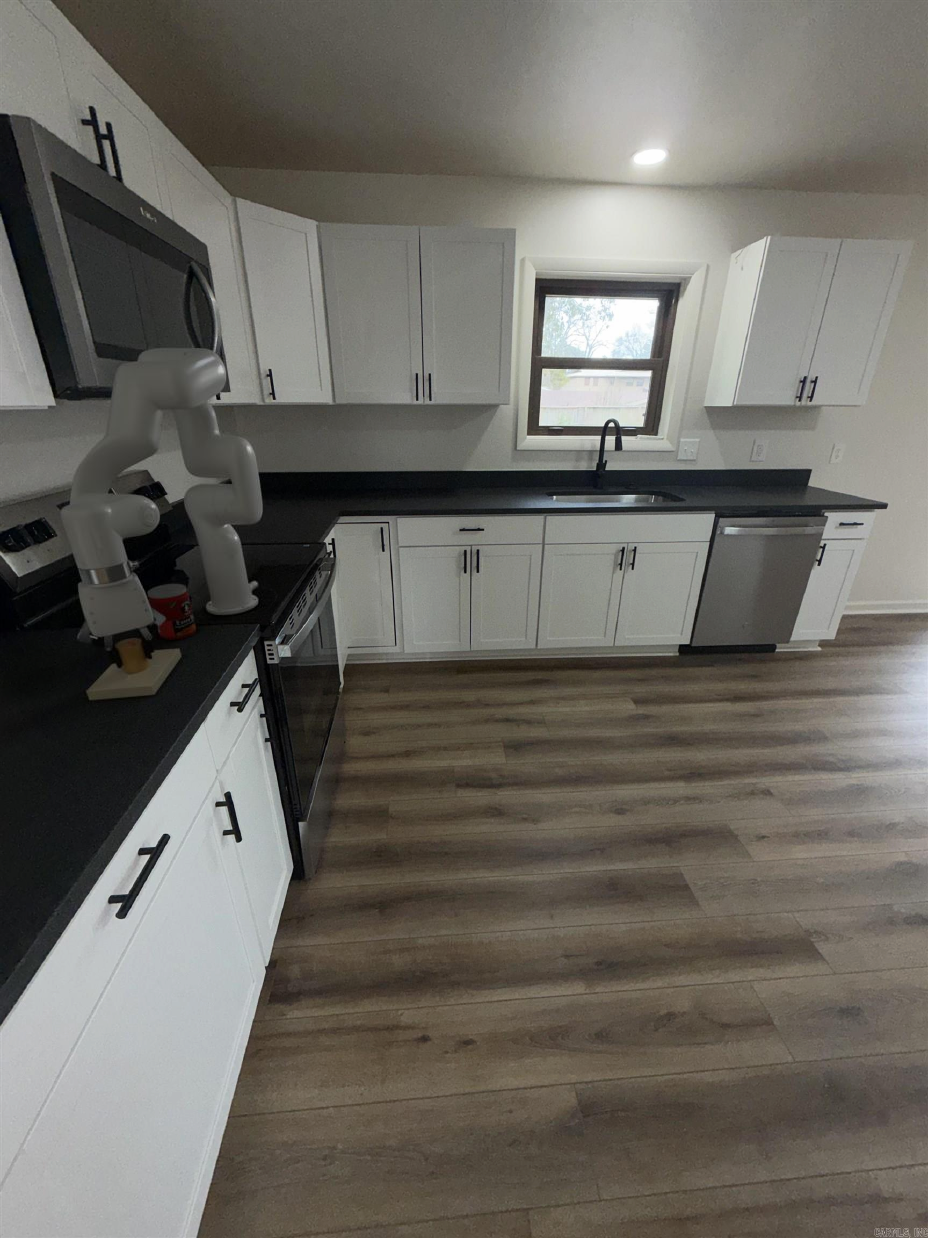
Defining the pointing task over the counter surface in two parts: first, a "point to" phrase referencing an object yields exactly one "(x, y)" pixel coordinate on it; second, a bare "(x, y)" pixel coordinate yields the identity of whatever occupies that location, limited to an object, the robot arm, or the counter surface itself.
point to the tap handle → (132, 655)
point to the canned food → (173, 610)
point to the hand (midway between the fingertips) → (133, 660)
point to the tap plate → (135, 678)
